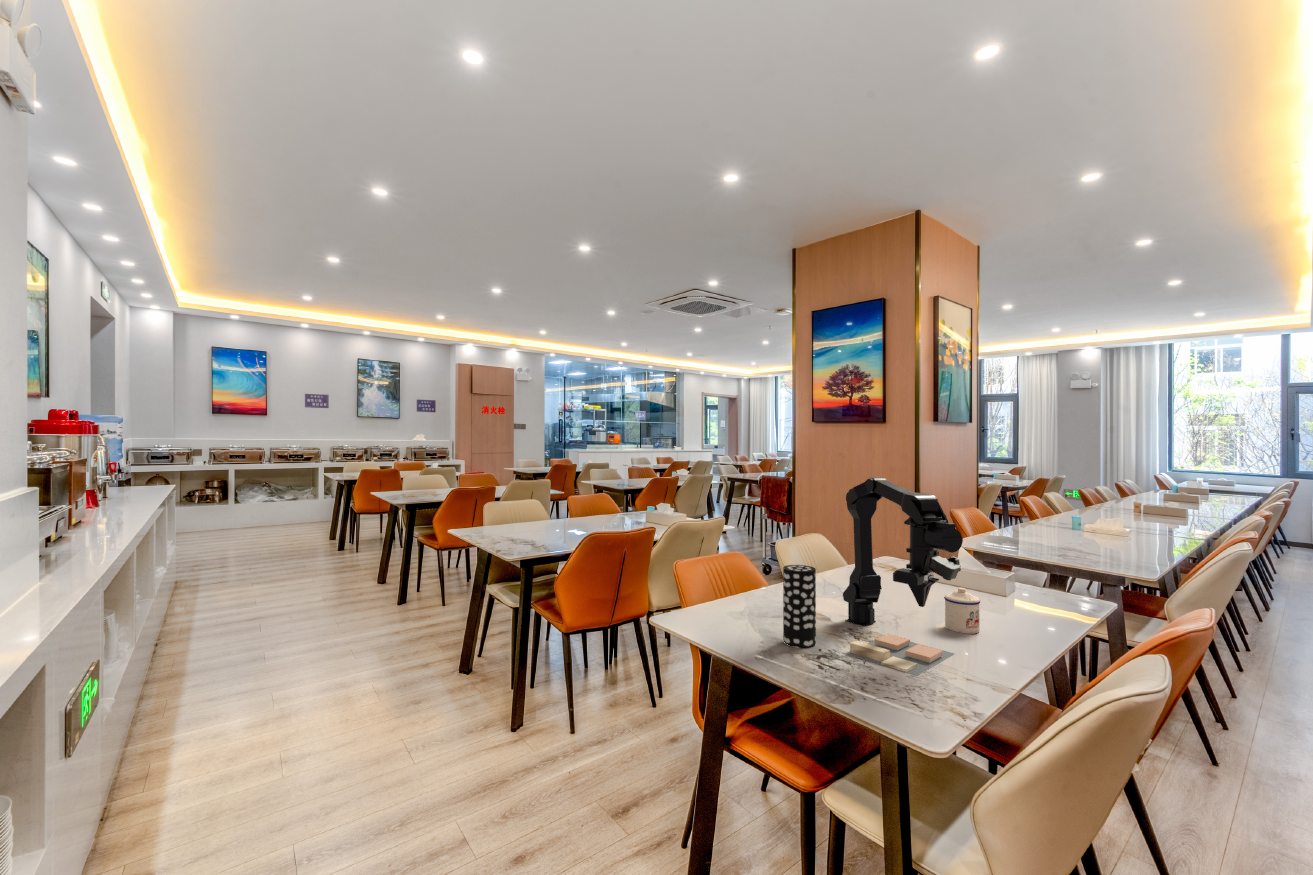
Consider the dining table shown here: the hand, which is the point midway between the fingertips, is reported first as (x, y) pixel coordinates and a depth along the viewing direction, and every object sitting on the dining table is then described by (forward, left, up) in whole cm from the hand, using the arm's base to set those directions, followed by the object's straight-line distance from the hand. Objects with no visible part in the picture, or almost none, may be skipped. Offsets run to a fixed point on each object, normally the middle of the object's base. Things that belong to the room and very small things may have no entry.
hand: (921, 606), depth 143 cm
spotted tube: (-24, -18, -12) cm, 32 cm away
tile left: (-7, +2, -10) cm, 13 cm away
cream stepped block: (-4, -13, -11) cm, 18 cm away
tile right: (+2, 0, -10) cm, 11 cm away
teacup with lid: (-1, +29, -12) cm, 31 cm away
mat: (-3, -6, -12) cm, 13 cm away
